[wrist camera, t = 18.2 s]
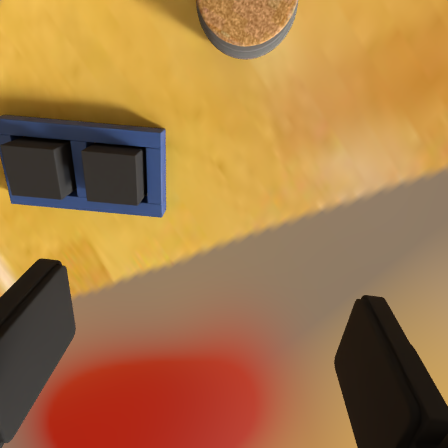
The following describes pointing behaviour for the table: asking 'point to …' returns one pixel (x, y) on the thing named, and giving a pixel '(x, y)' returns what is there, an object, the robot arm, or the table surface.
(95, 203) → the frame
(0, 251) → the table surface
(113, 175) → the pad
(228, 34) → the bottle
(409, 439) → the robot arm
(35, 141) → the pad
